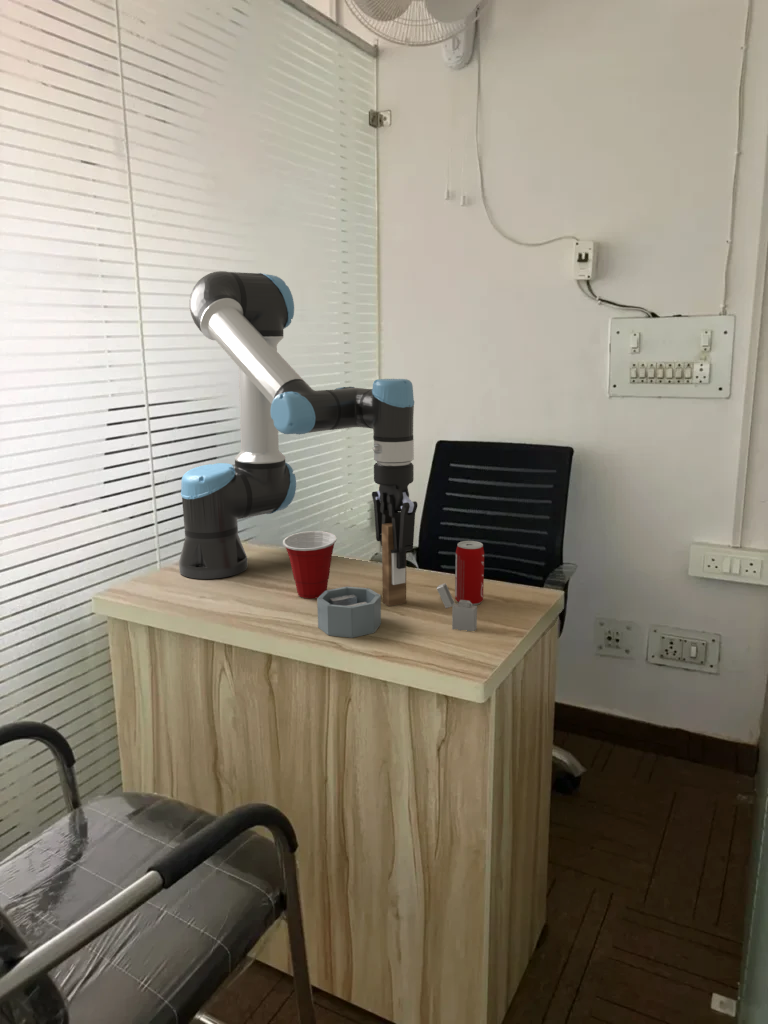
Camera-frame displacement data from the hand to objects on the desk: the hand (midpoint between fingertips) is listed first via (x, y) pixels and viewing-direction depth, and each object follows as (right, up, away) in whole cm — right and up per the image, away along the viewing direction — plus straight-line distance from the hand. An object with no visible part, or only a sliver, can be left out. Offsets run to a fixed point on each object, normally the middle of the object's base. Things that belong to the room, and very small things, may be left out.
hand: (394, 580), depth 145 cm
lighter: (+11, -8, -12) cm, 18 cm away
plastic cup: (-17, -4, +6) cm, 18 cm away
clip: (-8, -7, -10) cm, 15 cm away
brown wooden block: (0, -4, +1) cm, 5 cm away
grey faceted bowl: (-8, -7, -10) cm, 15 cm away
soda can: (+15, -4, +1) cm, 15 cm away
